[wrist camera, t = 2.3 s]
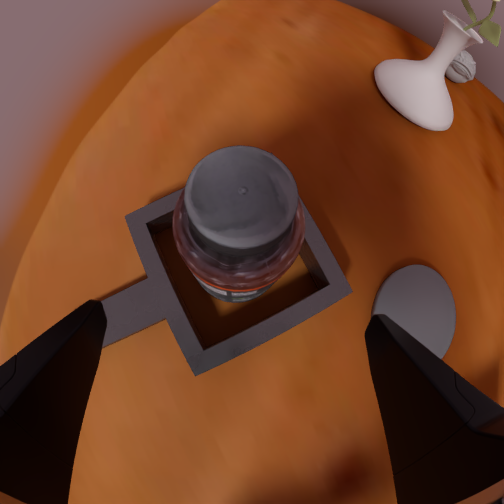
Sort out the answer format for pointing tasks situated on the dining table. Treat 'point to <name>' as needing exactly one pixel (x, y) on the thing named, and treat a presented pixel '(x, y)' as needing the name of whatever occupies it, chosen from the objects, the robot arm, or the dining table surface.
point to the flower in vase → (432, 72)
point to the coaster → (419, 306)
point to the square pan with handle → (175, 312)
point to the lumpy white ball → (461, 68)
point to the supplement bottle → (239, 222)
